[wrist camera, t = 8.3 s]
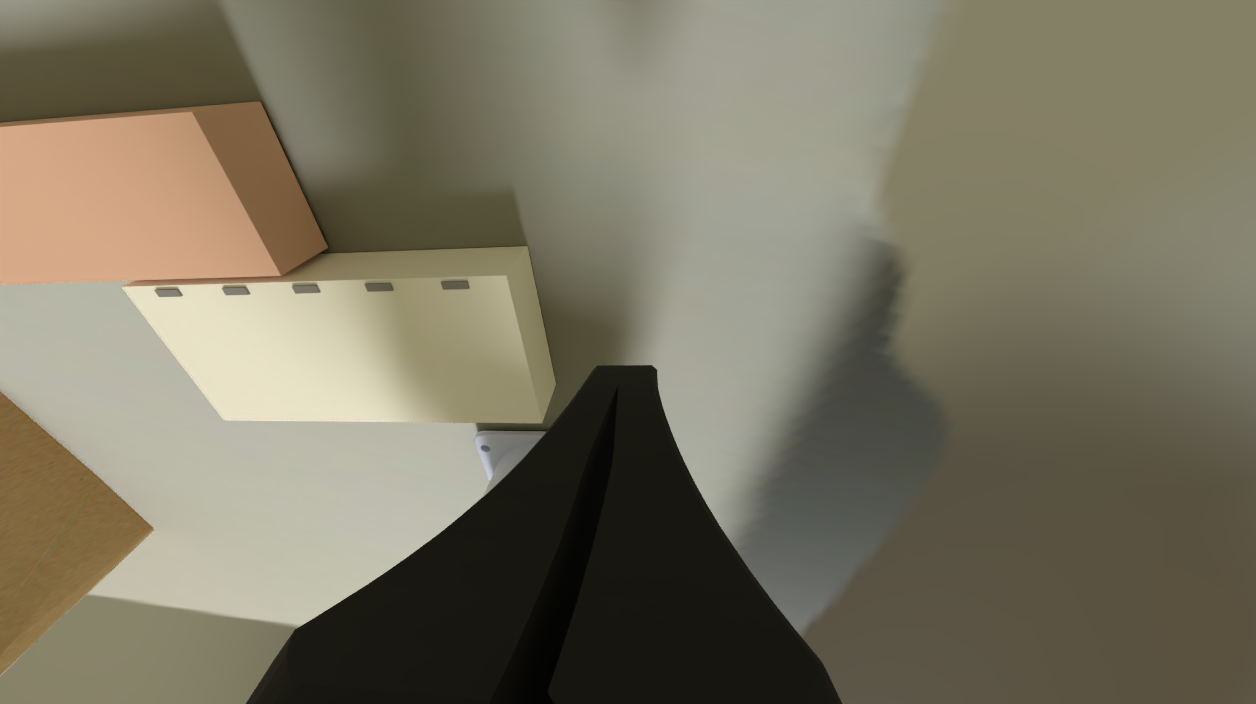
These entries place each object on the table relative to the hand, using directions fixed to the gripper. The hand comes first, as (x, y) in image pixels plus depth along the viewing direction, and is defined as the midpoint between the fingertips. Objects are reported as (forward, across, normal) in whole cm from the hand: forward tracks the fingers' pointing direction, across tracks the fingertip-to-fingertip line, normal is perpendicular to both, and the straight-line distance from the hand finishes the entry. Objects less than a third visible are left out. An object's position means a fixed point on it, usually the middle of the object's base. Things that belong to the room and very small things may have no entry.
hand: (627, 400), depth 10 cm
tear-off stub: (+9, +22, -3) cm, 24 cm away
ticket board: (+9, +13, +3) cm, 16 cm away
